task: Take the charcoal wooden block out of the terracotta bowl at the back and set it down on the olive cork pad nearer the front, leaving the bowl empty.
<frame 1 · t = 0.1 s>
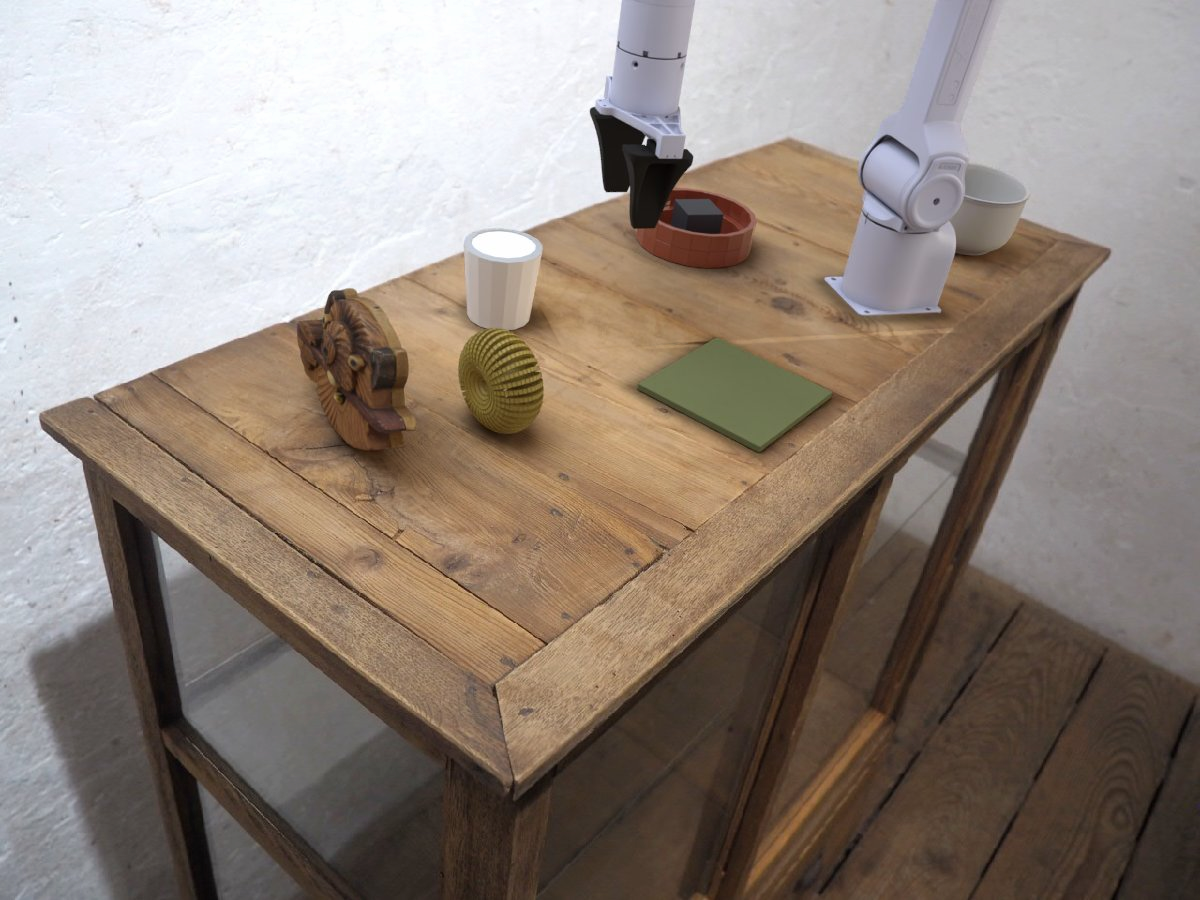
hand: (628, 208, 92), 10 cm above the table, tool pointing down, fingers open, 7 cm apart
bowl: (691, 246, 112), on the table
sculpture: (496, 427, 81), on the table
wooden carving: (352, 429, 78), on the table
white cylinder: (498, 317, 95), on the table
teacup: (945, 241, 122), on the table
block: (692, 241, 112), resting on bowl
pad: (735, 393, 88), on the table
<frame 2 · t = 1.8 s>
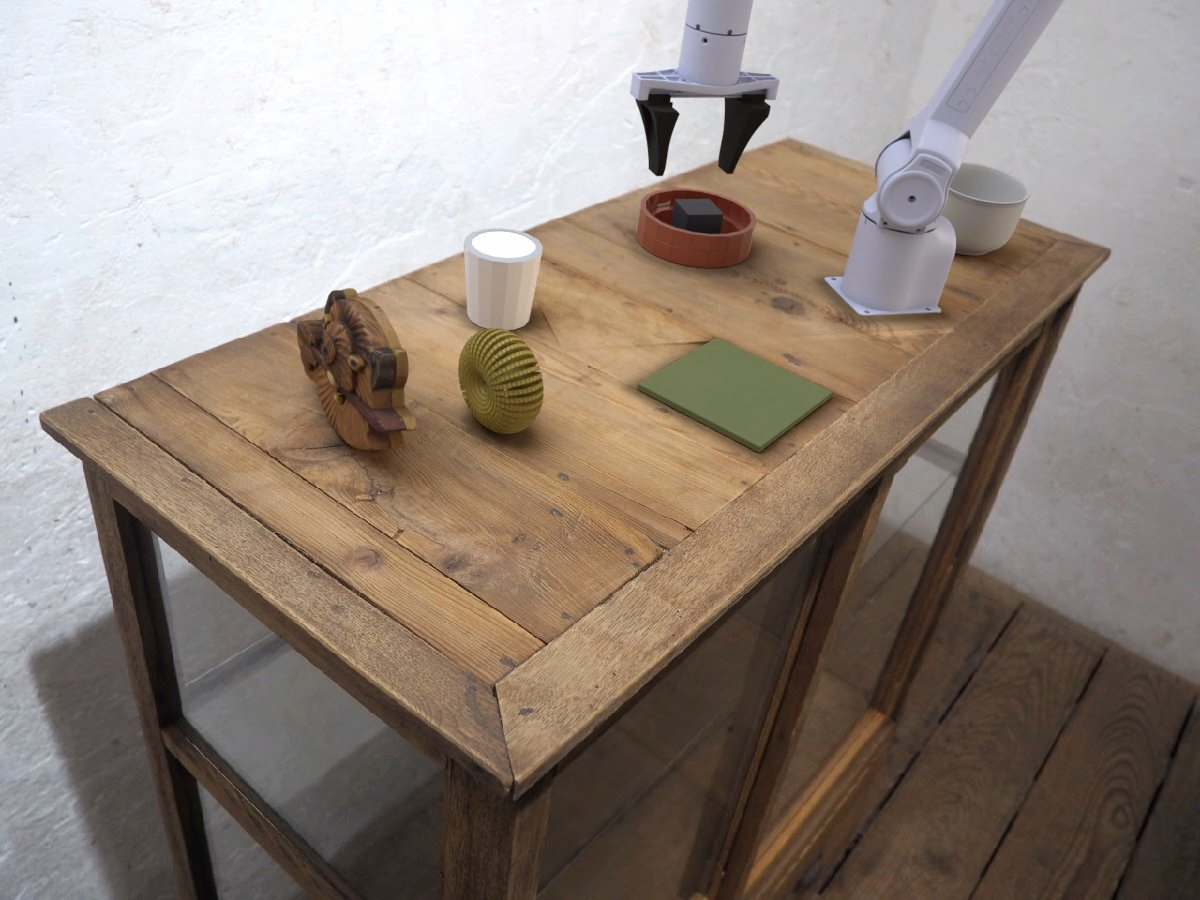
hand: (691, 171, 103), 10 cm above the table, tool pointing down, fingers open, 7 cm apart
nothing on the table moved.
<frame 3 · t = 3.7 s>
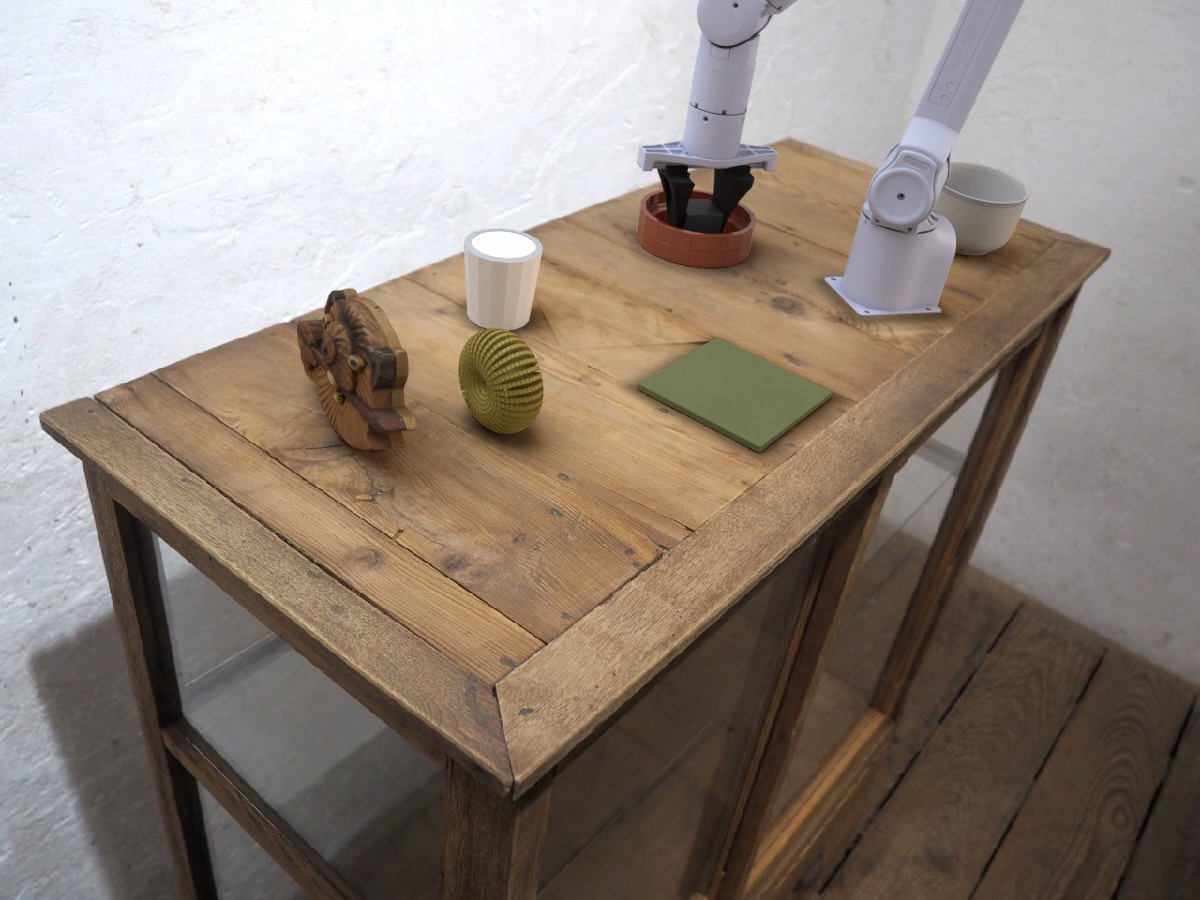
hand: (694, 234, 111), 1 cm above the table, tool pointing down, fingers closed on block, 4 cm apart
block: (692, 242, 112), point 1 cm above the table, touching bowl, gripper
everything else where it was.
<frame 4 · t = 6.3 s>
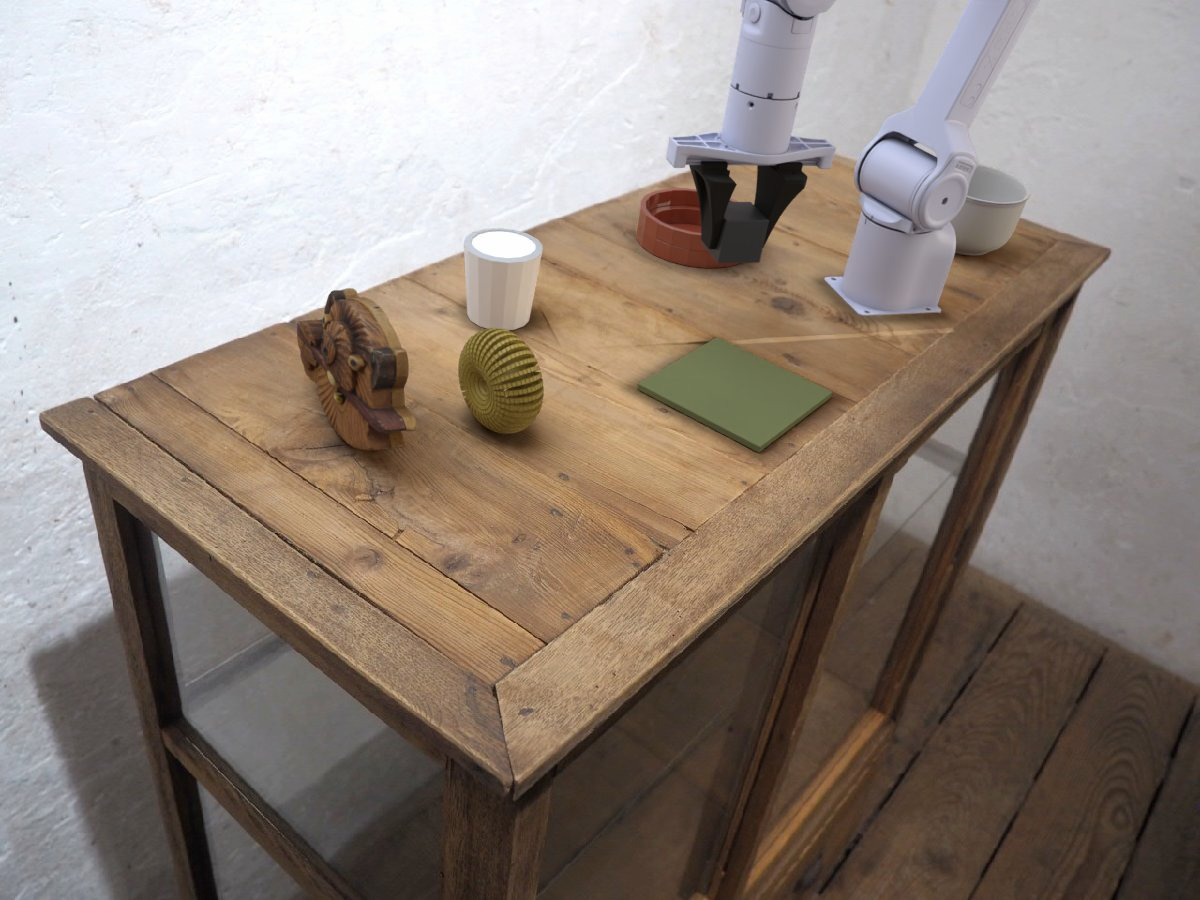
hand: (732, 243, 93), 8 cm above the table, tool pointing down, fingers closed on block, 4 cm apart
block: (730, 253, 93), point 8 cm above the table, touching gripper
everything else where it was.
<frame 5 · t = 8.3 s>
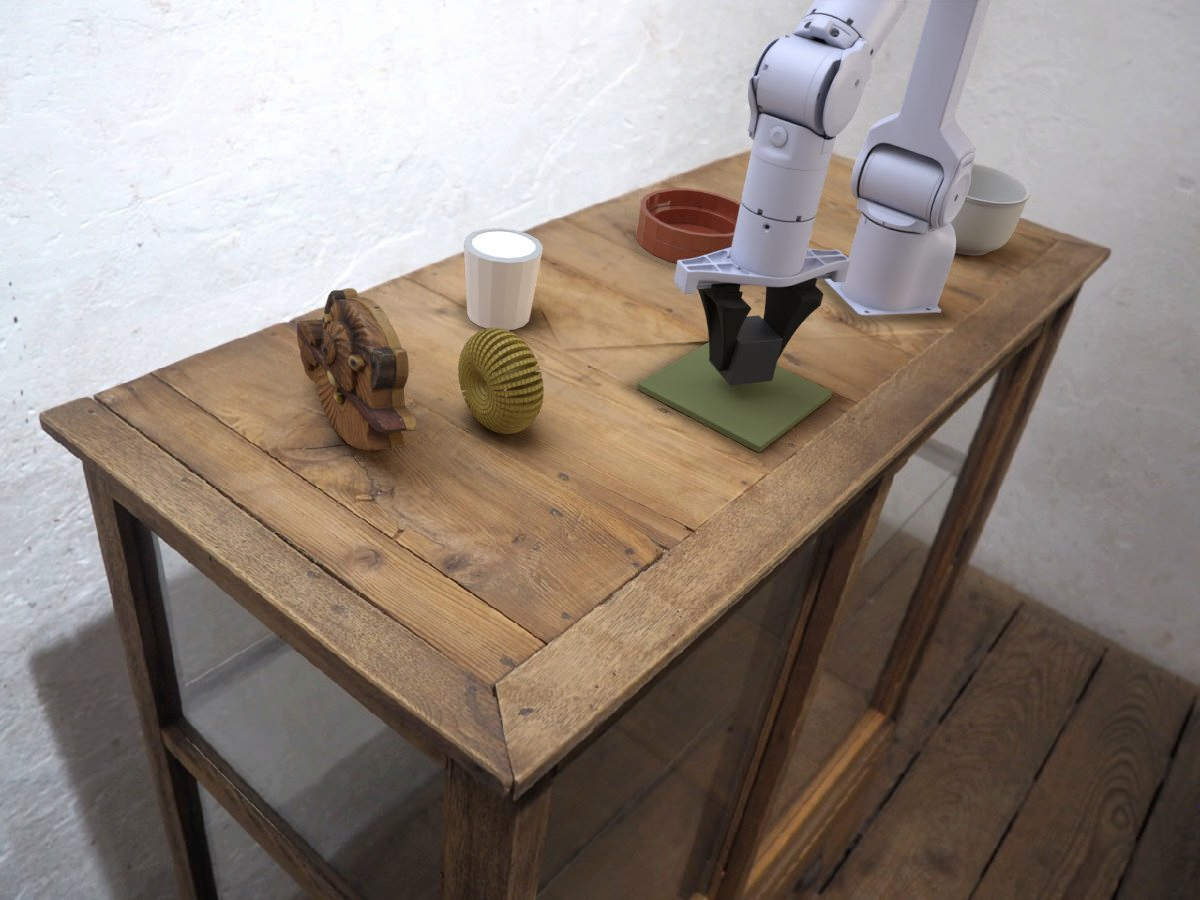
hand: (742, 361, 87), 3 cm above the table, tool pointing down, fingers closed on block, 4 cm apart
block: (740, 370, 87), point 2 cm above the table, touching gripper
everything else where it was.
when the fingers open (1 cm above the table, at t = 9.3 s): block stays where it is, resting on pad.
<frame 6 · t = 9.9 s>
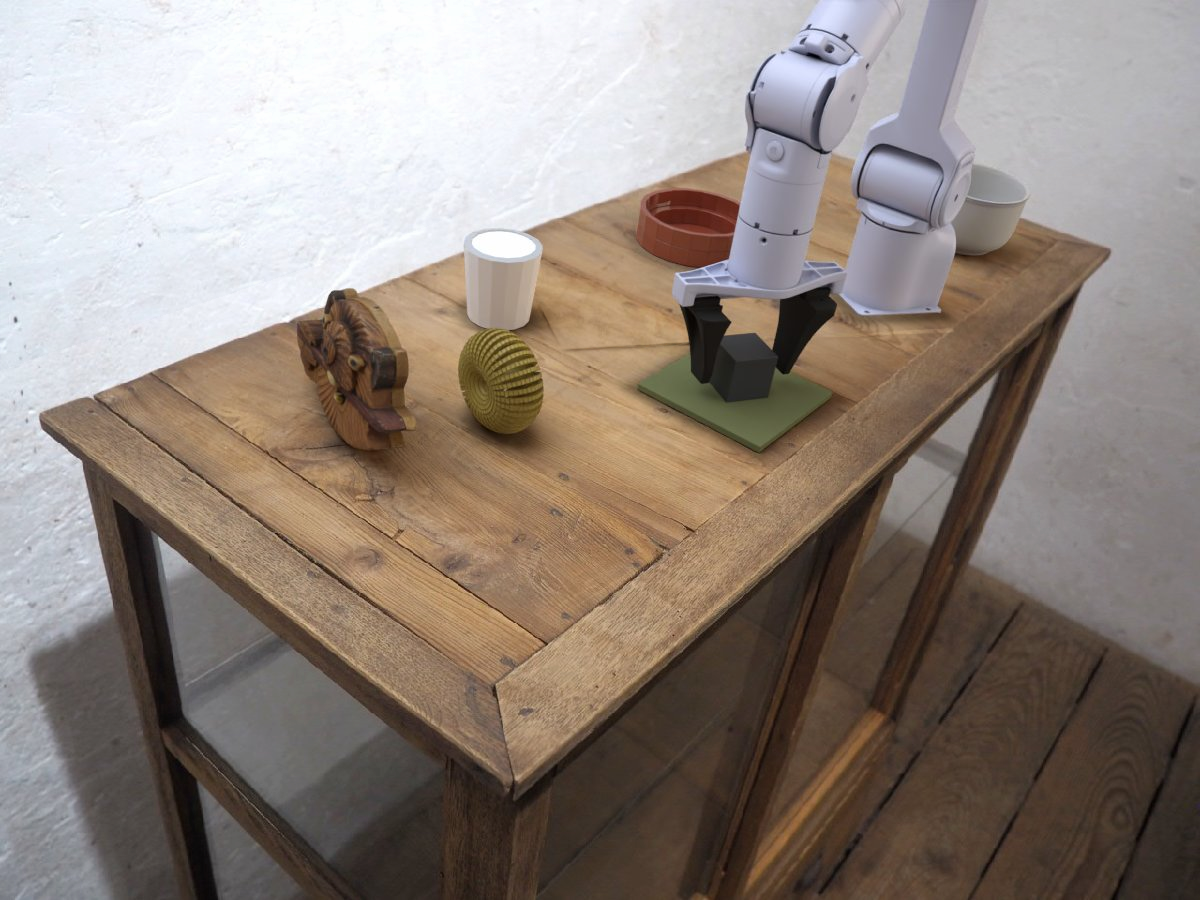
hand: (740, 372, 87), 2 cm above the table, tool pointing down, fingers open, 7 cm apart
block: (736, 387, 88), point 1 cm above the table, touching pad
everything else where it was.
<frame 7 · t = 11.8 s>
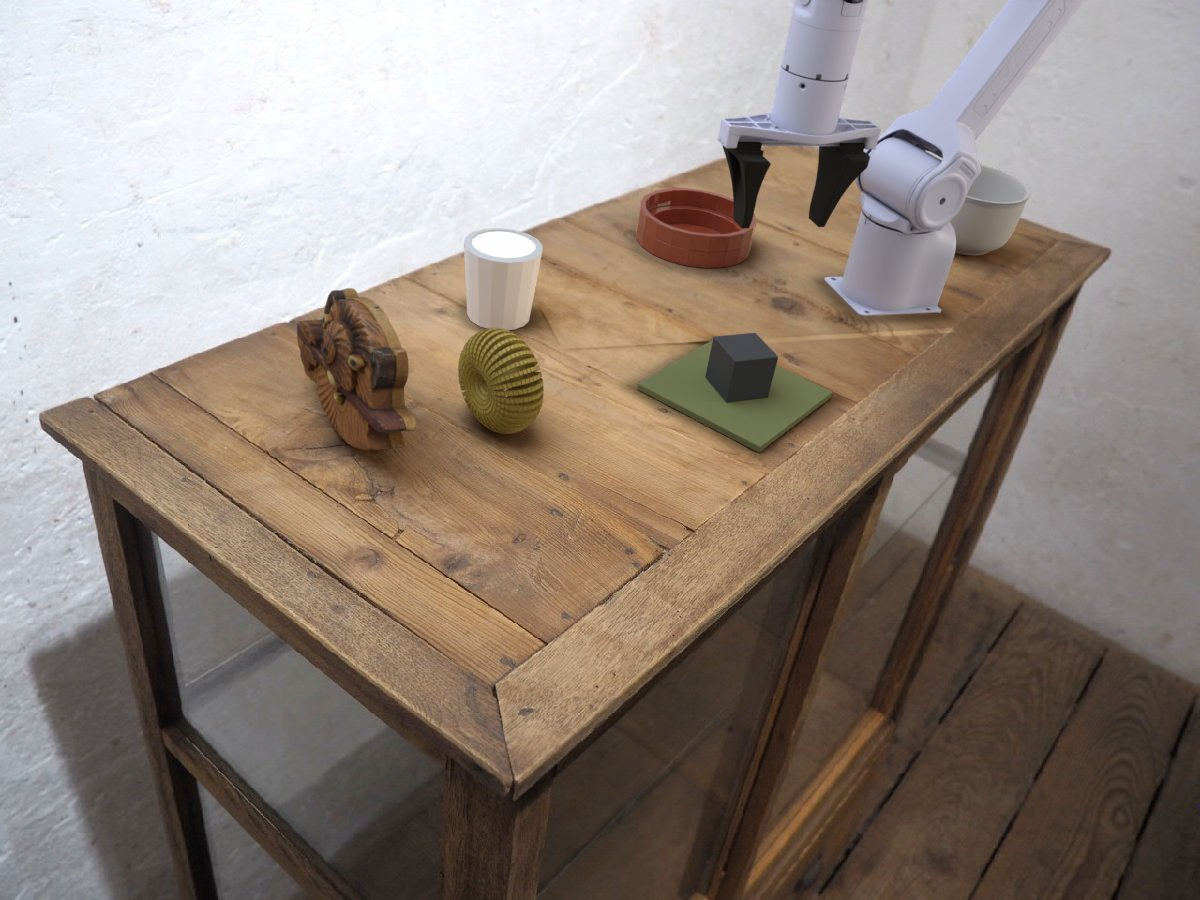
hand: (779, 223, 95), 9 cm above the table, tool pointing down, fingers open, 7 cm apart
nothing on the table moved.
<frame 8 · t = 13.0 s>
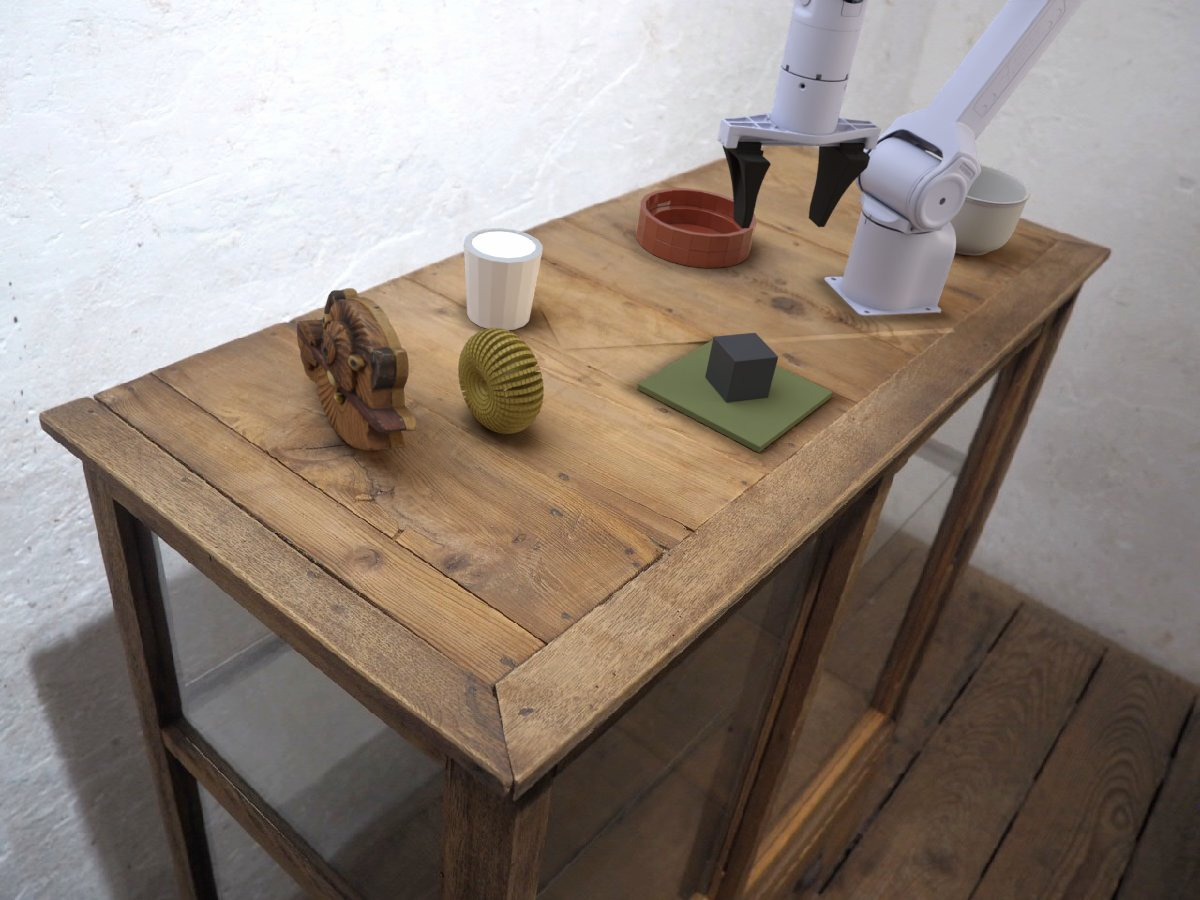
hand: (779, 223, 95), 9 cm above the table, tool pointing down, fingers open, 7 cm apart
nothing on the table moved.
at the end: block inside the target area on the pad (0.1 cm from its centre), point 0.6 cm above the pad's base; block touching pad; block tilted 0° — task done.
